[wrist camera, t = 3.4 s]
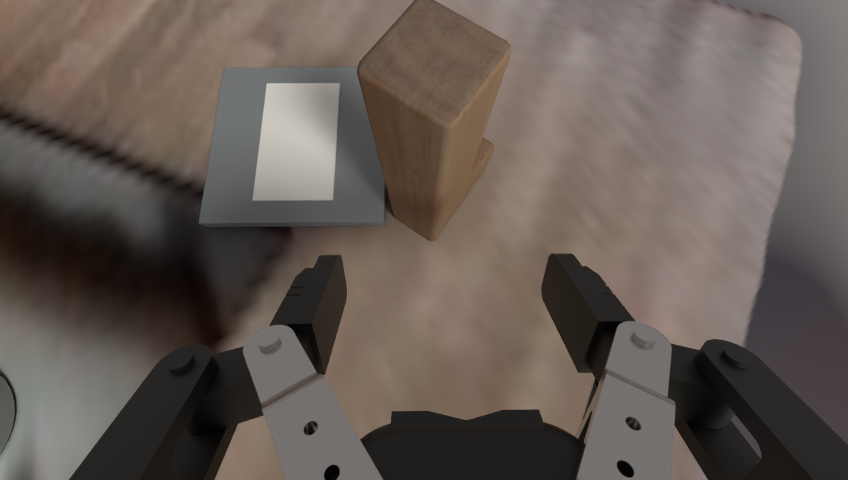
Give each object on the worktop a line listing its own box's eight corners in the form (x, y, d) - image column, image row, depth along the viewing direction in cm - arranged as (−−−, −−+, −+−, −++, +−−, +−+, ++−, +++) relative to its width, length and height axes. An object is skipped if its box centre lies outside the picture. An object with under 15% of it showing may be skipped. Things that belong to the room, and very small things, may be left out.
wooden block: (446, 144, 31) (481, -81, 13) (486, 169, 30) (574, -33, 13) (392, 216, 29) (350, 64, 12) (432, 244, 29) (452, 127, 11)
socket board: (207, 227, 29) (196, 222, 27) (230, 76, 33) (222, 65, 31) (385, 225, 29) (383, 220, 28) (387, 76, 33) (386, 65, 31)
